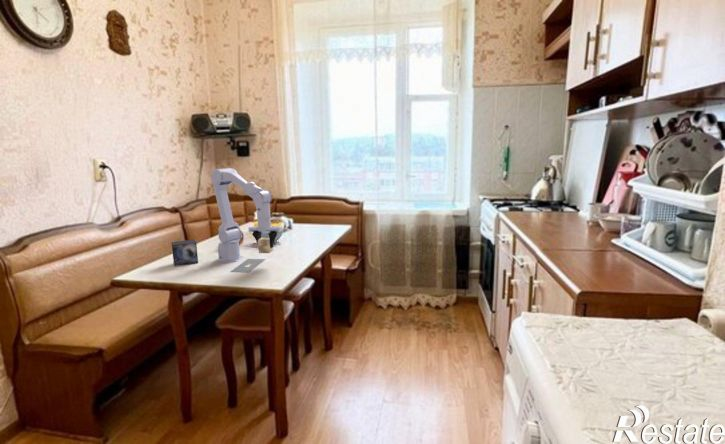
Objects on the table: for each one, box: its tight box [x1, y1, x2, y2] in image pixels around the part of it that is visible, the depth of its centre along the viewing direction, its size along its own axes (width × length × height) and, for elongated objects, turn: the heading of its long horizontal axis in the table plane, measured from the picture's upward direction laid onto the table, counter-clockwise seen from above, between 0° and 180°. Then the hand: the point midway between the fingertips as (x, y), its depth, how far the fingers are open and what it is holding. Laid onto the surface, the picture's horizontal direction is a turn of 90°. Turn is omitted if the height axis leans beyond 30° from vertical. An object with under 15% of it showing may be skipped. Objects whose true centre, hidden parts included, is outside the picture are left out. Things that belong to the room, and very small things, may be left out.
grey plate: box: [229, 258, 267, 274], centre depth 184 cm, size 9×20×1 cm, turn 173°
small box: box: [171, 239, 199, 267], centre depth 189 cm, size 11×6×10 cm, turn 117°
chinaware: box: [261, 225, 284, 244], centre depth 226 cm, size 15×15×8 cm
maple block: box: [257, 237, 274, 254], centre depth 181 cm, size 5×5×6 cm
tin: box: [239, 231, 244, 246], centre depth 219 cm, size 15×3×8 cm, turn 168°
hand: (266, 247), depth 181 cm, fingers closed on maple block, 5 cm apart
